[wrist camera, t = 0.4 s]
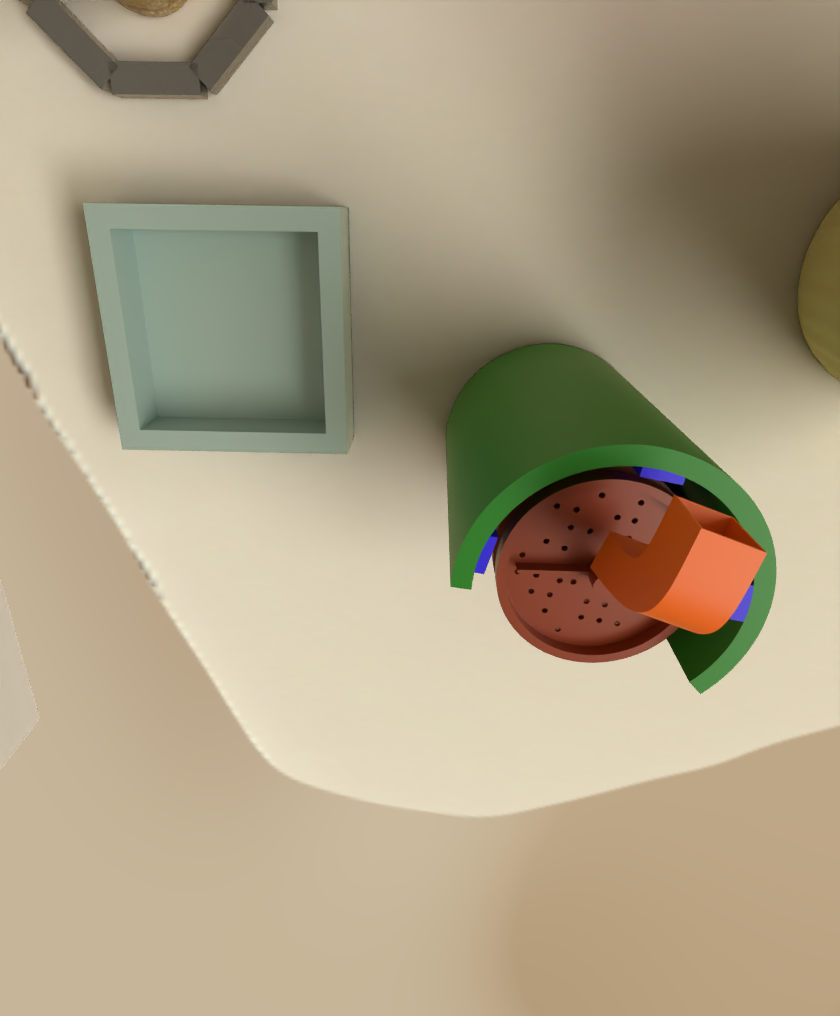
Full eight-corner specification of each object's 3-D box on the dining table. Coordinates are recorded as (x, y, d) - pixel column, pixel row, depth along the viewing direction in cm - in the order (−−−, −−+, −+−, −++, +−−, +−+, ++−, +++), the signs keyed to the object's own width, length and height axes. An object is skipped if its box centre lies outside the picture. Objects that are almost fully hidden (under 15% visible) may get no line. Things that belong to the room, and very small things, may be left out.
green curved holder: (432, 490, 37) (429, 757, 19) (468, 324, 34) (508, 452, 15) (613, 524, 38) (782, 816, 19) (667, 365, 34) (934, 535, 16)
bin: (112, 204, 32) (82, 202, 29) (348, 207, 32) (340, 206, 29) (146, 431, 36) (122, 449, 33) (354, 435, 36) (347, 453, 33)
